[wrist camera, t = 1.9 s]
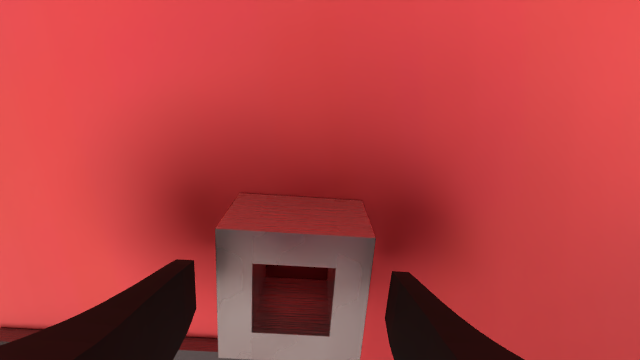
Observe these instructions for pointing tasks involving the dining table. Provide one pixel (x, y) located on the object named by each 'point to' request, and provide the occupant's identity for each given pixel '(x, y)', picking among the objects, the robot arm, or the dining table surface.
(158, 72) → the dining table surface
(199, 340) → the shaft block
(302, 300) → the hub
